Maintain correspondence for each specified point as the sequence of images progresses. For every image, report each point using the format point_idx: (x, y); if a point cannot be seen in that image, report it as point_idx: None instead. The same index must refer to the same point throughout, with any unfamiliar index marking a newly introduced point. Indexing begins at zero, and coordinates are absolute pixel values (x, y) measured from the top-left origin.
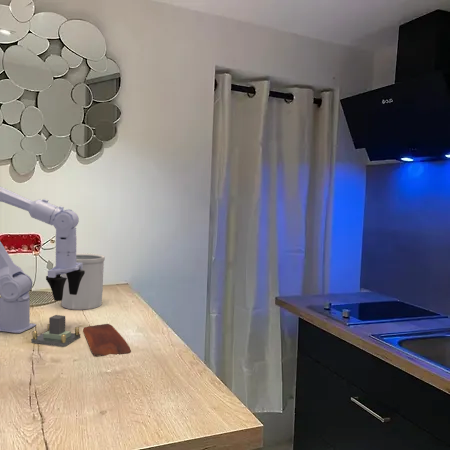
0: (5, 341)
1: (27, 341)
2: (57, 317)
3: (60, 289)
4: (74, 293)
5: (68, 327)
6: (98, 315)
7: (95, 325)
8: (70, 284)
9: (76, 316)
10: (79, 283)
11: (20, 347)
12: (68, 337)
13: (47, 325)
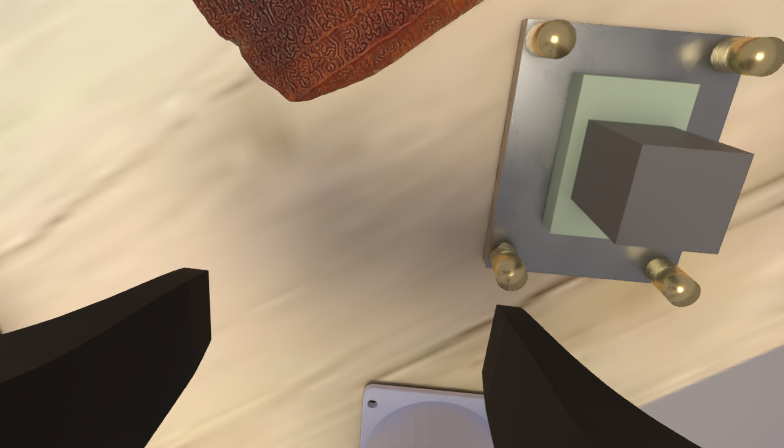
0: (645, 399)
1: (635, 303)
2: (701, 191)
3: (614, 399)
4: (202, 292)
5: (333, 203)
6: (10, 127)
7: (233, 35)
8: (138, 423)
9: (107, 258)
10: (65, 319)
11: (742, 290)
12: (618, 70)
13: (522, 283)
